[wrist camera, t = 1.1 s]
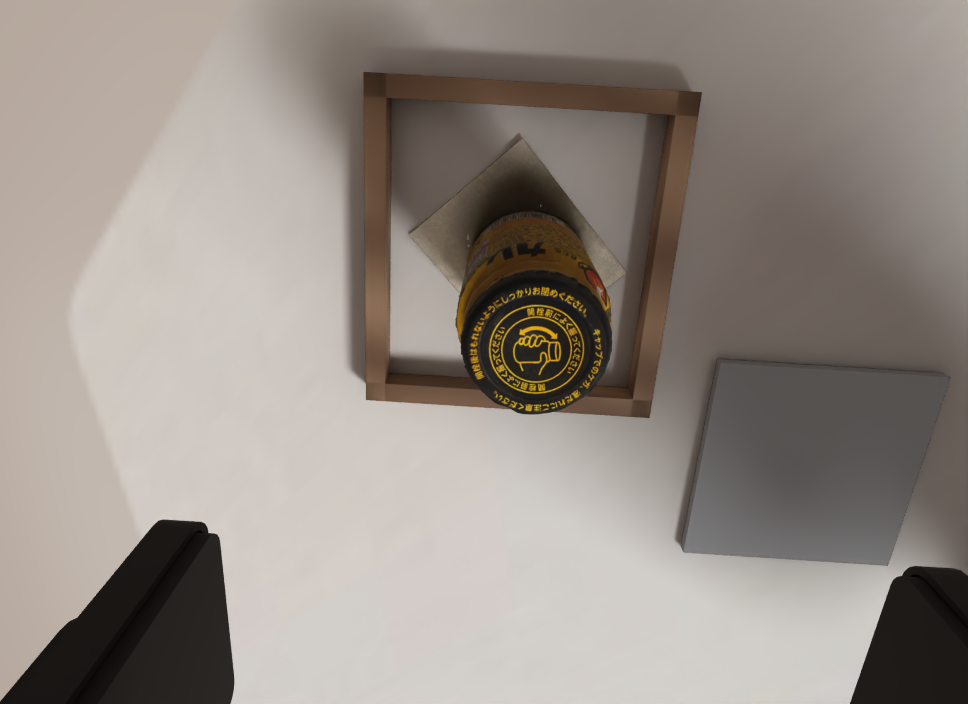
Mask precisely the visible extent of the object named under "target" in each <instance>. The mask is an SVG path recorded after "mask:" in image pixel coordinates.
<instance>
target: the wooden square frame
mask: <svg viewBox="0 0 968 704" xmlns="http://www.w3.org/2000/svg"><path fill="white" fill-rule="evenodd" d="M701 95H702V92H687V91H671V90H654V89H637V88H621V87H604V86H587V85H571V84H554V83H537V82H521V81H504V80H487V79H471V78H454V77H437V76H421V75H404V74H387V73H371V72H364V187H365V318H366V400H375V401H391V402H406V403H422V404H438V405H454V406H469V407H485V408H501V409H510V408H507V407H505V406H501V405H498V404H496V403H494V402H493V401H492V400H491V399H489V398H488V397H487V396H486V395H485V394H484V393H483V392H482V391H481V390H480V388H479V387H478V386H477V385H476V384H475V383H474V381H473V380H472V379H471V378H462V377H446V376H430V375H415V374H399V373H390V244H391V98H399V99H416V100H432V101H449V102H466V103H482V104H499V105H515V106H532V107H549V108H565V109H582V110H598V111H615V112H631V113H648V114H665V115H668V117H667V124H666V131H665V138H664V144H663V151H662V158H661V165H660V172H659V179H658V186H657V192H656V199H655V206H654V213H653V220H652V227H651V233H650V240H649V247H648V254H647V261H646V268H645V275H644V281H643V288H642V295H641V302H640V309H639V316H638V323H637V329H636V336H635V343H634V350H633V357H632V364H631V371H630V377H629V384H628V388H620V387H604V386H595V388H594V389H593V390H592V391H591V392H590V393H589V394H588V395H586V396H585V397H584V398H582V399H580V400H578V401H577V402H576V403H573V404H572V405H570V406H568V407H566V408H564V409H562V410H559V411H555V412H564V413H579V414H595V415H611V416H627V417H642V418H649V417H650V411H651V405H652V399H653V392H654V386H655V380H656V374H657V368H658V361H659V355H660V349H661V343H662V337H663V331H664V324H665V318H666V312H667V306H668V300H669V293H670V287H671V281H672V275H673V269H674V262H675V256H676V250H677V244H678V238H679V231H680V225H681V219H682V213H683V207H684V200H685V194H686V188H687V182H688V176H689V169H690V163H691V157H692V151H693V145H694V138H695V132H696V126H697V120H698V114H699V107H700V101H701Z"/></svg>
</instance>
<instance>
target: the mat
mask: <svg viewBox="0 0 968 704" xmlns="http://www.w3.org/2000/svg"><path fill="white" fill-rule="evenodd" d="M949 381H950V377H949V376H947V375H945V374H944V373H932V372H917V371H901V370H885V369H869V368H853V367H837V366H821V365H805V364H789V363H773V362H758V361H742V360H726V359H717V364H716V369H715V374H714V379H713V384H712V389H711V394H710V399H709V405H708V410H707V415H706V420H705V425H704V430H703V435H702V440H701V446H700V451H699V456H698V461H697V466H696V471H695V476H694V481H693V487H692V492H691V497H690V502H689V507H688V512H687V517H686V522H685V528H684V533H683V538H682V543H681V548H682V550H683V552H685V553H700V554H715V555H731V556H746V557H761V558H777V559H792V560H808V561H823V562H838V563H854V564H869V565H884V566H888V564H889V561H890V558H891V555H892V552H893V549H894V546H895V543H896V540H897V537H898V534H899V531H900V528H901V525H902V522H903V519H904V516H905V513H906V510H907V507H908V504H909V501H910V498H911V495H912V492H913V489H914V486H915V483H916V480H917V477H918V474H919V471H920V468H921V465H922V462H923V459H924V456H925V453H926V450H927V447H928V444H929V441H930V438H931V435H932V432H933V429H934V426H935V423H936V420H937V417H938V414H939V411H940V408H941V405H942V402H943V399H944V396H945V393H946V390H947V387H948V384H949Z"/></svg>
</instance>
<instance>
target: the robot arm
mask: <svg viewBox="0 0 968 704" xmlns="http://www.w3.org/2000/svg"><path fill="white" fill-rule="evenodd" d="M233 691H234V671H233V662H232V652H231V642H230V633H229V623H228V613H227V604H226V594H225V584H224V575H223V565H222V556H221V546H220V540H219V537H218V535H217V534H212V533H208V528H207V526H206V525H205V523H202V522H194V521H178V520H160V521H158V522H157V523H156V524H154V525H153V527H152V528H151V529H150V530H149V531H148V533H147V534H146V535H145V536H144V537H143V539H142V540H141V541H140V542H139V544H138V545H137V546H136V547H135V548H134V550H133V551H132V552H131V553H130V555H129V556H128V557H127V558H126V559H125V561H124V562H123V563H122V564H121V565H120V567H119V568H118V569H117V570H116V571H115V573H114V574H113V575H112V576H111V578H110V579H109V580H108V581H107V582H106V584H105V585H104V586H103V587H102V589H101V590H100V591H99V592H98V593H97V594H96V596H95V597H94V598H93V600H92V601H91V602H90V603H89V604H88V605H87V607H86V608H85V609H84V610H83V611H82V613H81V614H80V615H79V616H78V618H76V619H73V620H71V621H70V622H68V623H67V624H66V625H65V626H64V627H63V628H62V629H61V630H60V631H59V632H58V633H57V634H56V636H55V637H54V638H53V639H52V640H51V642H50V643H49V644H48V645H47V646H46V648H45V649H44V650H43V651H42V652H41V653H40V655H39V656H38V657H37V658H36V660H35V661H34V662H33V663H32V664H31V665H30V667H29V668H28V669H27V670H26V671H25V673H24V674H23V675H22V676H21V677H20V679H19V680H18V681H17V682H16V683H15V685H14V686H13V687H12V688H11V689H10V691H9V692H8V693H7V694H6V695H5V696H4V698H3V699H2V700H1V701H0V704H230V703H231V700H232V696H233ZM850 704H968V576H967V575H966V574H965V573H963V572H962V571H960V570H957V569H954V568H937V567H921V566H913V567H909V568H908V569H907V570H905V571H904V573H903V575H902V576H899V577H896V578H895V579H894V580H893V582H892V583H891V586H890V589H889V592H888V594H887V597H886V600H885V603H884V606H883V609H882V612H881V615H880V618H879V621H878V624H877V627H876V629H875V632H874V635H873V638H872V641H871V644H870V647H869V650H868V653H867V656H866V659H865V661H864V664H863V667H862V670H861V673H860V676H859V679H858V682H857V685H856V688H855V691H854V694H853V696H852V699H851V702H850Z"/></svg>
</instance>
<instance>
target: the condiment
mask: <svg viewBox="0 0 968 704" xmlns="http://www.w3.org/2000/svg"><path fill="white" fill-rule="evenodd" d="M540 204H541V205H543V206H542V207H540ZM467 234H469V236H470V239H469V241H467V240H466V235H467ZM410 236H411V238H412V239H413V240H414V241H415V242H416V243H417V245H418V246H419V247H420V248H421V249H422V251H423V252H424V253H425V254H426V255H427V256H428V257H429V258H430V260H431V261H432V262H433V263H434V265H435V266H436V267H437V268H438V269H439V270H440V271H441V272H442V273H443V275H444V276H445V277H446V278H447V280H448V281H449V282H450V283H451V284H452V285H453V286H454V287H455V289H456V290H457V291H458V292H459V293H460V296H459V303H458V309H457V317H456V328H457V331H458V336H459V340H460V343H461V354H462V355H463V360H464V363H465V368H466V369H467V372H468V373H469V375H470V377H471V379H472V380H473V381H474V383H475V384H476V385H477V386H478V387H479V388H480V390H481V391H482V392H483V393H484V394H485V395H486V396H487V397H488V398H489V399H491V400H492V401H493V402H494V403H496V404H498V405H501V406H505V407H507V408H510V409H512V410H514V411H515V412H517V413H521V414H543V413H550V412H555V411H559V410H562V409H564V408H566V407H568V406H570V405H572V404H573V403H576V402H577V401H578V400H580V399H582V398H584V397H585V396H586V395H588V394H589V393H590V392H591V391H592V390H593V389H594V388H595V386H596V385H597V383H598V381H599V379H600V378H601V377H602V376H603V374H604V372H605V369H606V367H607V364H608V362H609V360H610V354H611V351H612V330H611V308H610V298H609V296H608V294H607V291H606V288H607V287H608V286H610V285H611V284H613V283H614V282H615V281H617V280H618V279H619V278H621V277H622V276H623V275H624V274H626V272H625V271H624V269H623V268H622V267H621V265H620V264H619V263H618V261H617V260H616V259H615V258H614V256H613V255H612V254H611V252H610V251H609V250H608V248H607V247H606V246H605V245H604V243H603V242H602V241H601V240H600V238H599V237H598V235H597V234H596V233H595V232H594V230H593V229H592V228H591V226H590V225H589V224H588V222H587V221H586V220H585V218H584V217H583V216H582V215H581V213H580V212H579V211H578V209H577V208H576V207H575V205H574V204H573V203H572V202H571V200H570V199H569V198H568V196H567V195H566V194H565V193H564V191H563V190H562V189H561V187H560V186H559V185H558V183H557V182H556V181H555V179H554V178H553V177H552V176H551V174H550V173H549V171H548V170H547V169H546V168H545V166H544V165H543V164H542V163H541V161H540V160H539V159H538V157H537V156H536V155H535V153H534V152H533V151H532V150H531V148H530V147H529V146H528V144H527V143H526V142H525V140H524V139H523V138H522V139H521V140H520V141H519V142H518V143H516V144H515V145H514V146H513V147H512V148H511V149H510V150H508V151H507V152H506V153H504V154H503V155H502V156H501V157H500V158H499V159H497V160H496V161H495V162H494V163H493V164H492V165H490V166H489V167H488V168H487V169H486V170H485V171H483V172H482V173H481V174H480V175H479V176H477V177H476V178H475V179H474V180H473V181H472V182H470V183H469V184H468V185H467V186H466V187H465V188H463V189H462V190H461V191H460V192H459V193H457V194H456V196H454V197H453V198H452V199H450V200H449V201H448V202H447V203H446V204H445V205H444V206H442V207H441V208H440V209H439V210H438V211H436V212H435V213H434V214H433V215H432V216H431V217H429V218H428V219H427V220H426V221H425V222H424V223H422V224H421V225H420V226H419V227H418V228H417V229H415V230H414V231H413V232H412V233H411V234H410ZM468 243H469V244H470V248H469V249H468V248H467V244H468Z"/></svg>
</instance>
